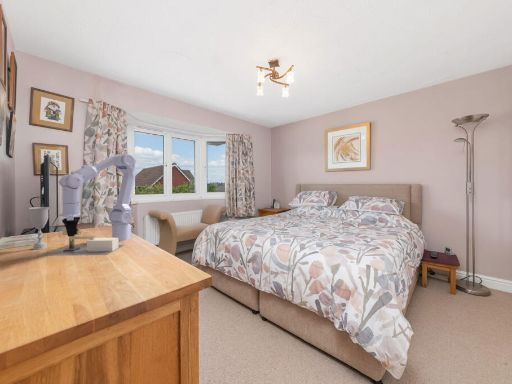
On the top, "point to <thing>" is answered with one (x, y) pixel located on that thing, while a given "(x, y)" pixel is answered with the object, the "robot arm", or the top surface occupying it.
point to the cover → (102, 244)
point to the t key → (75, 237)
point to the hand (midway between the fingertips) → (71, 235)
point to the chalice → (39, 223)
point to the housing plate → (78, 251)
